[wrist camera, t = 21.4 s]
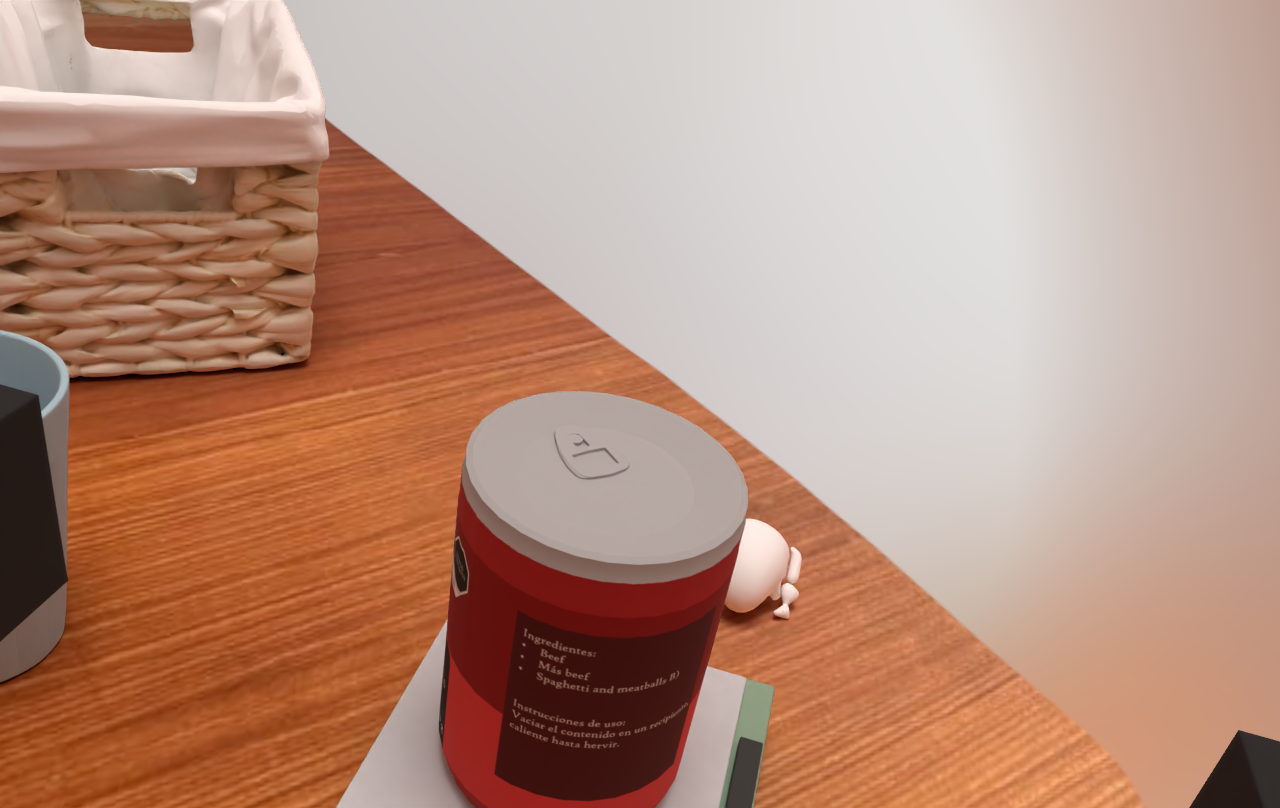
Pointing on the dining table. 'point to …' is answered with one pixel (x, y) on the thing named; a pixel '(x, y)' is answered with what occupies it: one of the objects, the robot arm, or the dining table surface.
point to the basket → (159, 188)
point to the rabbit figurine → (763, 570)
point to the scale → (695, 804)
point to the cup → (48, 377)
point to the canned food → (583, 599)
